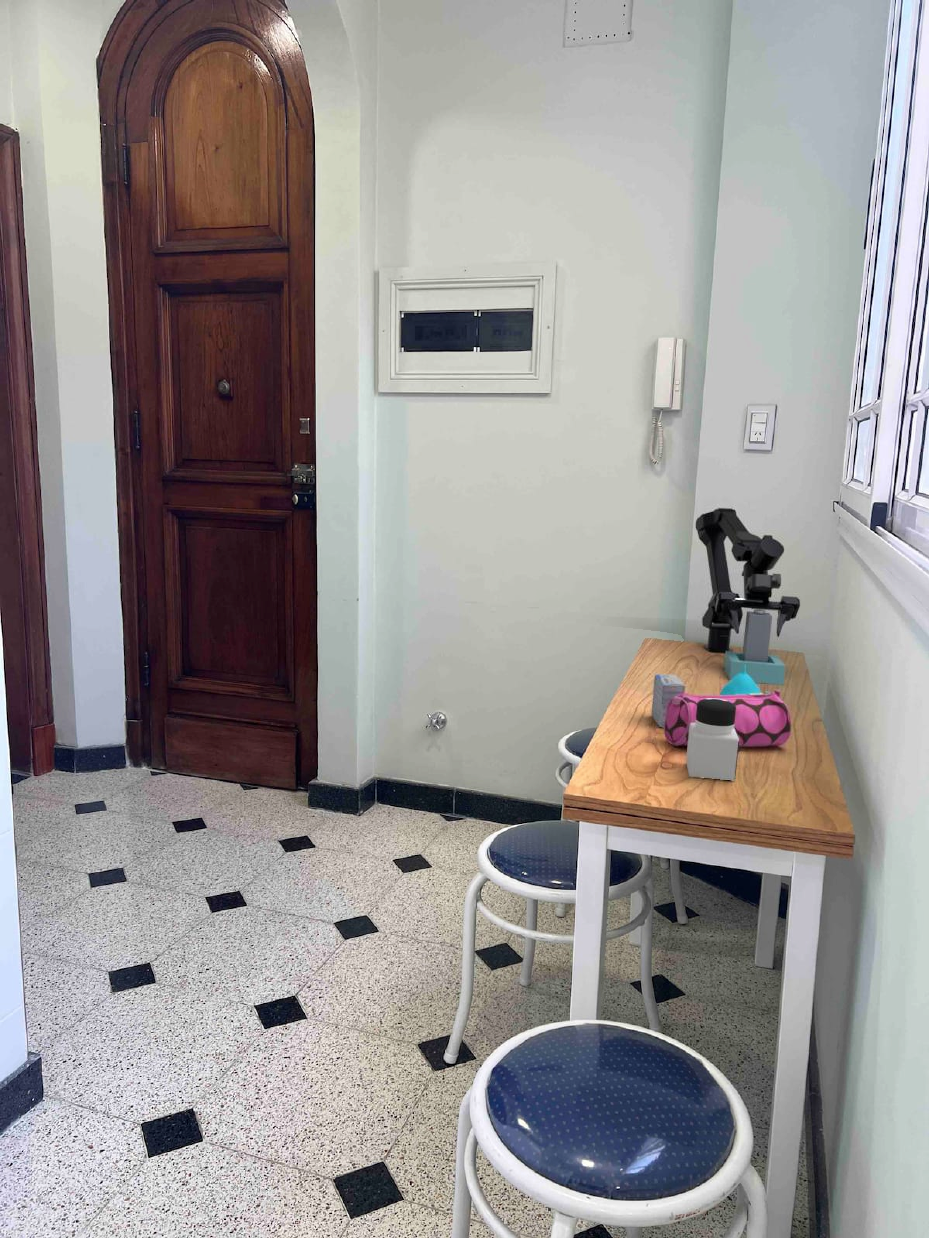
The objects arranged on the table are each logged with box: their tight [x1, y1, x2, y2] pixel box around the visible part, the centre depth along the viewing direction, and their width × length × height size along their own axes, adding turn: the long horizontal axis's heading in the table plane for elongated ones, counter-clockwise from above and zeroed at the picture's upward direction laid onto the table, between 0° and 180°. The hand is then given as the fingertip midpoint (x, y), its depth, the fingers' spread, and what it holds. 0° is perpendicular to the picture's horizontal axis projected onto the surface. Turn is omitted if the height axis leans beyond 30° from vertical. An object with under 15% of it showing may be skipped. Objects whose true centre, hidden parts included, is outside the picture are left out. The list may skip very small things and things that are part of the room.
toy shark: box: [719, 665, 762, 695], centre depth 175 cm, size 10×18×11 cm, turn 172°
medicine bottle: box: [685, 698, 740, 782], centre depth 142 cm, size 7×7×12 cm
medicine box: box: [651, 673, 686, 729], centre depth 169 cm, size 8×4×9 cm, turn 179°
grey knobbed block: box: [742, 609, 773, 663], centre depth 209 cm, size 5×5×13 cm
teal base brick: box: [723, 650, 786, 686], centre depth 210 cm, size 12×12×4 cm
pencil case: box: [663, 689, 792, 748], centre depth 157 cm, size 21×10×10 cm, turn 103°
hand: (758, 634), depth 207 cm, fingers open, 9 cm apart
